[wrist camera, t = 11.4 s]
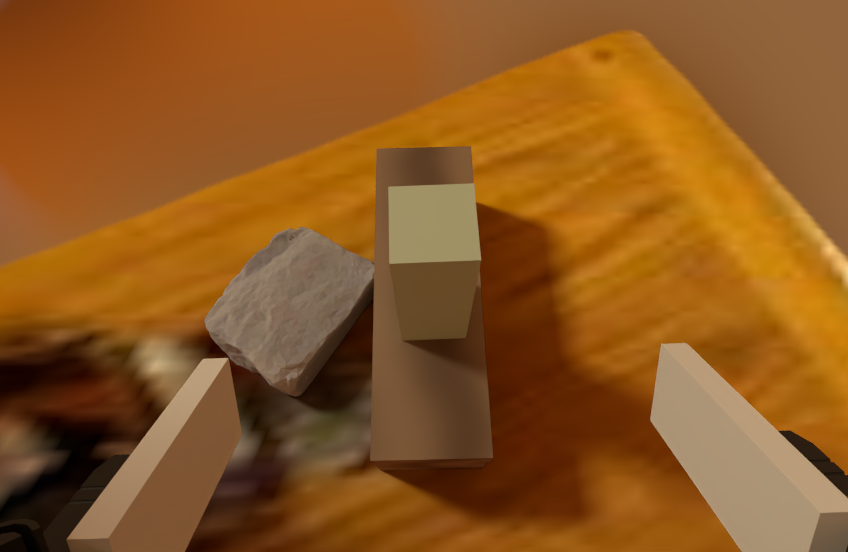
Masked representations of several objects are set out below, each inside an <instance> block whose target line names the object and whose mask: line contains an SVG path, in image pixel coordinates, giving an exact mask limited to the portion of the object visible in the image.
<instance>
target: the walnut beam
mask: <svg viewBox="0 0 848 552" xmlns="http://www.w3.org/2000/svg"><path fill="white" fill-rule="evenodd" d="M470 183H473V169H472V156H471V146H469V147H428V148H387V149H377V165H376V213H375V261H374V309H373V357H372V406H371V454H370V461H371V462H372V463H373V464H374V465H376V466H377V467H378V468H379V469H380V470H420V469H464V468H483V467H484V466H485V465H486V464H487V463H488V462H489V461H491V460H492V459H493V447H492V433H491V419H490V405H489V392H488V378H487V364H486V350H485V336H484V322H483V308H482V294H481V281H480V269H479V274H478V279H477V284H476V289H475V294H474V299H473V304H472V309H471V314H470V319H469V325H468V330H467V335H466V338H455V339H431V340H406V341H402V338H401V332H400V326H399V320H398V314H397V308H396V301H395V295H394V289H393V283H392V277H391V271H390V265H389V198H388V187H393V186H419V185H445V184H470Z"/></svg>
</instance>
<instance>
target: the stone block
mask: <svg viewBox="0 0 848 552" xmlns="http://www.w3.org/2000/svg"><path fill="white" fill-rule="evenodd" d="M373 298H374V263H373V262H371V261H370V260H368V259H365V258H362V257H360V256H359V255H358V254H355V253H352V252H350V251H348V250H346V249H344V248H343V247H341V246H340V245H338V244H336V243H334V242H333V241H331V240H330V239H328V238H326V237H324V236H322V235H320V234H319V233H317V232H315V231H314V230H311V229H308V228H304V227H300V228H298V229H296V230H293V229H291V228H290V229H287V230H285V231H282V232H279V233H277V234H276V235H274V236H273V238H272V240H271V241H270V243H269V245H268V246H267V247H265V248H264V249H262V250H260V251H258V252H257V253H256V254H255V255H254V256H253V257H252V258H251V259H250V260H249V261H248V262H247V263H246V265H245V266H244V267H243V269H242V270H241V272H240V273H239V274H238V275H237V276H236V277H235V278H234V279H233V280H232V281H231V282H230V284H229V285H228V286H227V287H226V289H225V291H224V293H223V296H222V297H221V298H218V300H217V302H216V303H215V305H214V306H213V307H212V309H211V310H210V312H209V313H208V315H207V316H206V318H205V324H206V328H207V330H208V331H209V333H210V335H211V338H212V339H213V340H214V341H215V343H216V344H218V345H219V346H220V348H221V349H222V350H223V351H224V352H225V353H227V354H228V356H229V357H230V359H231V360H232V361H234V362H235V363H236V364H237V365H240V366H242V367H244V368H247V369H248V370H250V371H251V372H254V373H259V374H261V375H262V376H263V377H264V378H265V380H267V382H268V383H269V384H270V385H271V386H273V387H274V388H276V389H278V390H280V391H281V392H283V393H285V394H287V395H292V396H295V397H296V396H300V395H301V394H303V393H304V392H305V390H306V389H307V387H308V386H309V385H310V384H311V383H312V381H313V380H314V378H315V377H316V376H317V374H318V373H319V371H320V370H321V369H322V367H323V366H324V365H325V363H326V362H327V361H328V359H329V358H330V356H331V355H332V354H333V352H334V351H335V350H336V348H337V347H338V346H339V344H340V343H341V341H342V340H343V339H344V337H345V336H346V335H347V333H348V332H349V331H350V329H351V328H352V327H353V325H354V324H355V322H356V321H357V319H358V318H359V316H360V315H361V314H362V312H363V311H364V310H365V309H366V307H367V306H368V305H369V303H370V302H371V301H372V299H373Z"/></svg>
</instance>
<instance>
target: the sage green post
mask: <svg viewBox="0 0 848 552" xmlns="http://www.w3.org/2000/svg"><path fill="white" fill-rule="evenodd" d="M388 198H389V265H390V271H391V277H392V283H393V289H394V295H395V301H396V308H397V314H398V320H399V326H400V332H401V338H402V341H406V340H431V339H455V338H466V335H467V330H468V325H469V319H470V314H471V309H472V304H473V299H474V294H475V289H476V284H477V279H478V274H479V269H480V264H481V252H480V242H479V231H478V220H477V210H476V199H475V188H474V183H470V184H445V185H419V186H393V187H388Z"/></svg>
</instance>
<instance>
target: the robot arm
mask: <svg viewBox="0 0 848 552" xmlns="http://www.w3.org/2000/svg"><path fill="white" fill-rule="evenodd" d="M650 421H651V422H652V424H653V425H654V427H655V428H656V429H657V431H658V432H659V434H660V435H661V437H662V438H663V439H664V441H665V442H666V444H667V445H668V447H669V448H670V450H671V451H672V452H673V454H674V455H675V457H676V458H677V460H678V461H679V462H680V464H681V465H682V467H683V468H684V470H685V471H686V472H687V474H688V475H689V477H690V478H691V480H692V481H693V483H694V484H695V485H696V487H697V488H698V490H699V491H700V493H701V494H702V495H703V497H704V498H705V500H706V501H707V503H708V504H709V505H710V507H711V508H712V510H713V511H714V513H715V514H716V516H717V517H718V518H719V520H720V521H721V523H722V524H723V526H724V527H725V528H726V530H727V531H728V533H729V534H730V536H731V537H732V538H733V540H734V541H735V543H736V544H737V546H738V547H739V548H740V550H741V551H742V552H848V475H845V474H844V471H843V470H841V469H840V468H839V467H838V466H837V465H836V464H835V463H834V462H830V459H829V458H828V457H827V456H826V455H825V454H824V453H823V452H822V451H821V450H819V449H818V448H817V447H816V446H815V445H814V444H813V443H811V442H809V441H807V440H806V439H804V438H802V437H800V436H799V435H797V434H795V433H793V432H792V431H777V430H776V429H775V428H774V427H773V426H772V425H771V424H770V423H769V422H768V421H767V420H766V419H765V418H764V417H763V416H762V415H761V414H760V413H759V412H758V411H756V410H755V409H754V408H753V407H752V406H751V405H750V404H749V403H748V402H747V401H746V400H745V399H744V398H743V397H742V396H741V395H740V394H739V393H738V392H737V391H736V390H735V389H734V388H733V387H731V386H730V385H729V384H728V383H727V382H726V381H725V380H724V379H723V378H722V377H721V376H720V375H719V374H718V373H717V372H716V371H715V370H714V369H713V368H712V367H711V366H710V365H709V364H708V363H707V362H705V361H704V360H703V359H702V358H701V357H700V356H699V355H698V354H697V353H696V352H695V351H694V350H693V349H692V348H691V347H690V346H689V345H688V344H687V343H675V344H661V349H660V356H659V363H658V370H657V376H656V383H655V390H654V397H653V403H652V410H651V417H650ZM241 435H242V431H241V425H240V420H239V414H238V409H237V403H236V397H235V392H234V386H233V381H232V375H231V369H230V364H229V358H217V359H203V360H202V361H201V362H200V364H199V365H198V366H197V368H196V369H195V370H194V372H193V373H192V374H191V376H190V377H189V378H188V380H187V381H186V382H185V383H184V385H183V386H182V387H181V389H180V390H179V391H178V393H177V394H176V395H175V397H174V398H173V399H172V401H171V402H170V403H169V405H168V406H167V407H166V409H165V410H164V411H163V413H162V414H161V415H160V417H159V418H158V419H157V420H156V422H155V423H154V424H153V426H152V427H151V428H150V430H149V431H148V432H147V434H146V435H145V436H144V438H143V439H142V440H141V442H140V443H139V444H138V446H137V447H136V448H135V450H134V451H133V452H132V454H131V455H114V456H113V457H111V458H110V459H109V460H107V461H106V462H105V463H103V464H102V465H100V466H99V467H98V468H96V469H95V470H94V471H93V472H92V474H91V475H90V476H89V477H88V478H87V480H86V481H85V482H84V483H83V484H82V486H81V489H80V490H78V491H77V492H76V493H75V494H74V495H73V497H72V498H71V499H70V500H69V504H66V505H65V506H64V508H63V509H62V510H61V511H60V513H59V514H58V515H57V516H56V517H55V519H54V520H53V521H52V522H51V523H50V525H49V526H48V527H47V528H46V530H45V531H44V532H42V529H41V527H40V526H39V524H38V523H37V522H36V521H35V520H30V519H26V518H23V519H14V520H9V521H6V522H3V523H0V552H185V550H186V548H187V546H188V544H189V542H190V540H191V538H192V536H193V534H194V532H195V530H196V528H197V526H198V524H199V522H200V520H201V517H202V515H203V513H204V511H205V509H206V507H207V505H208V503H209V501H210V499H211V497H212V495H213V493H214V491H215V489H216V487H217V485H218V482H219V480H220V478H221V476H222V474H223V472H224V470H225V468H226V466H227V464H228V462H229V460H230V458H231V456H232V454H233V452H234V450H235V447H236V445H237V443H238V441H239V439H240V437H241Z"/></svg>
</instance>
